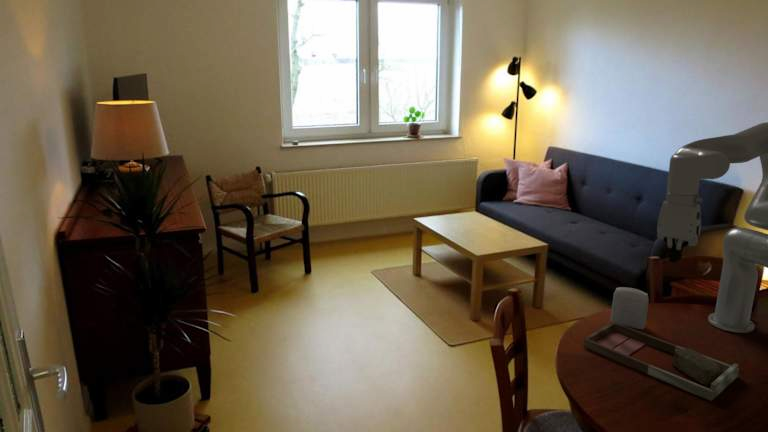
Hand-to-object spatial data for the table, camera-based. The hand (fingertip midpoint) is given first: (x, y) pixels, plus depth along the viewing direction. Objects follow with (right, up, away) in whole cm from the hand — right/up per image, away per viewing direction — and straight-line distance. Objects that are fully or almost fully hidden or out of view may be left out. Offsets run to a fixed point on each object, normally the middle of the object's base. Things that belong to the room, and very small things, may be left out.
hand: (674, 261), depth 158 cm
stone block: (+2, -30, -8) cm, 31 cm away
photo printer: (-5, -22, +20) cm, 30 cm away
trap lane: (-6, -28, -1) cm, 29 cm away
